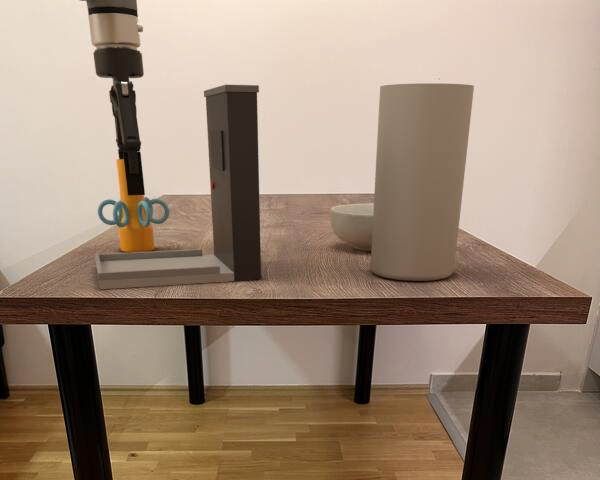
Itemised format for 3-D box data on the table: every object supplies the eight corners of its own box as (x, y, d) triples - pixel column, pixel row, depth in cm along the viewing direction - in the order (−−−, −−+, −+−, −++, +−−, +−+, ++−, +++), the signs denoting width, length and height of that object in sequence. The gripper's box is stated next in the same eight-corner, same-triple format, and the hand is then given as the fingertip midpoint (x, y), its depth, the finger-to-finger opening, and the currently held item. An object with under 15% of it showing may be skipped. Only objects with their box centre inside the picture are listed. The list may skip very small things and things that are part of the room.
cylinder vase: (356, 268, 100) (364, 87, 89) (425, 263, 104) (441, 90, 93) (395, 284, 89) (409, 82, 79) (470, 278, 94) (493, 85, 83)
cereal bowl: (311, 246, 119) (311, 206, 116) (376, 238, 128) (378, 201, 125) (372, 259, 107) (374, 215, 104) (439, 250, 116) (443, 209, 113)
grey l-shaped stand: (100, 289, 86) (72, 80, 75) (96, 268, 99) (72, 88, 89) (262, 279, 92) (258, 85, 82) (239, 260, 106) (232, 91, 95)
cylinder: (145, 257, 108) (135, 161, 101) (93, 253, 111) (80, 160, 104) (180, 246, 118) (173, 158, 112) (131, 243, 121) (122, 157, 115)
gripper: (149, 40, 91) (163, 197, 101) (134, 56, 113) (148, 184, 122) (94, 39, 89) (114, 199, 99) (90, 55, 111) (107, 186, 120)
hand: (133, 191), depth 110 cm, fingers open, 13 cm apart
